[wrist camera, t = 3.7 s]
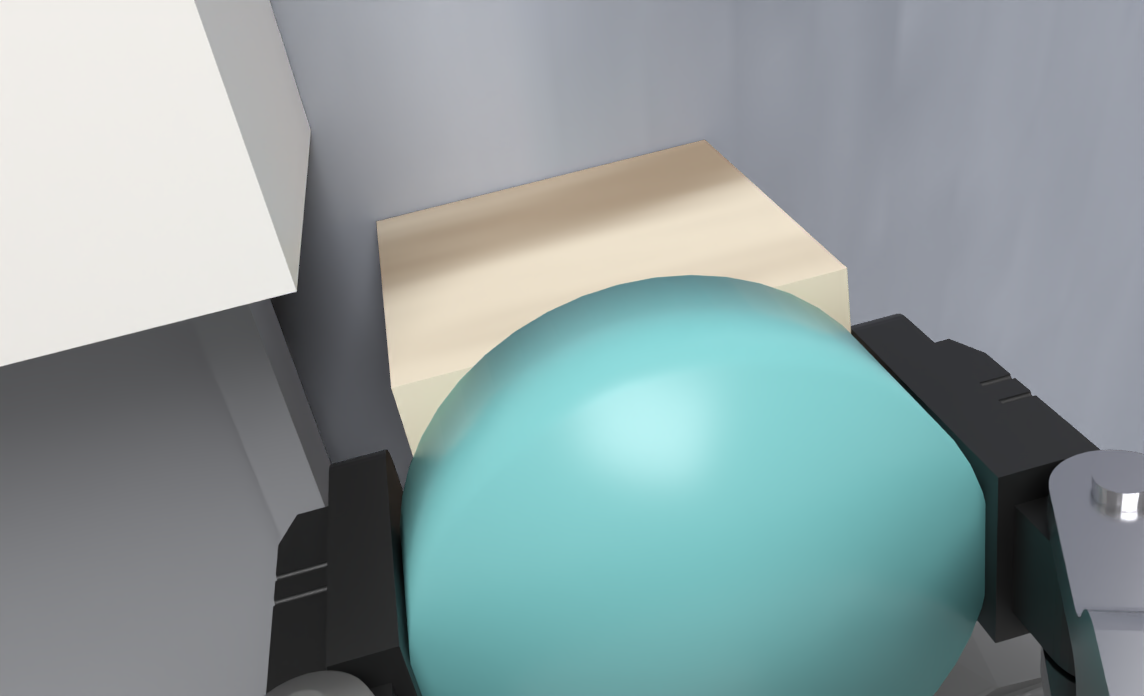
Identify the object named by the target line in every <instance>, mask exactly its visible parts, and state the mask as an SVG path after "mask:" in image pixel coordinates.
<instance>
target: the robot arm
mask: <svg viewBox="0 0 1144 696" xmlns="http://www.w3.org/2000/svg"><path fill="white" fill-rule="evenodd" d="M851 335H852V336H853V337H854V338H855V339H856V340H857V341H858V342H859V343H860V344H861V345H862V346H863V347H864V348H865V349H866V350H867V351H868V352H869V353H870V354H871V355H872V356H873V357H874V358H875V359H876V360H877V361H878V362H879V363H880V364H881V365H882V366H883V367H884V369H885V370H886V371H887V372H888V373H889V374H890V375H891V376H892V377H893V378H894V379H895V380H896V381H897V382H898V383H899V384H900V385H901V386H902V387H903V388H904V389H905V390H906V391H907V392H908V393H909V394H910V395H911V396H912V398H913V399H914V400H915V401H916V402H917V403H918V404H919V405H920V406H921V407H922V408H923V409H924V410H925V411H926V412H927V413H928V414H929V415H930V416H931V417H932V418H933V419H934V420H935V421H936V422H937V423H938V424H939V425H940V426H941V428H942V429H943V430H944V431H945V432H946V433H947V434H948V435H949V436H950V437H951V438H952V439H953V440H954V441H955V443H956V444H957V446H958V447H959V449H960V450H961V452H962V453H963V454H964V456H965V457H966V459H967V460H968V462H969V463H970V465H971V467H972V469H973V471H974V474H975V476H976V478H977V480H978V483H979V485H980V487H981V489H982V492H983V495H984V499H985V504H986V508H985V596H984V600H983V604H982V608H981V611H980V613H979V616H978V619H977V621H978V622H979V623H980V625H981V626H982V627H983V628H984V630H985V631H986V632H987V633H988V635H989V636H990V637H991V639H992V640H993V641H994V642H995V643H999V642H1002V641H1005V640H1009V639H1012V638H1015V637H1019V636H1022V635H1025V634H1029V633H1031V634H1032V636H1033V637H1034V638H1035V639H1036V640H1037V641H1038V643H1039V644H1040V645H1041V657H1040V675H1041V681H1042V687H1043V693H1044V696H1144V454H1142V453H1137V452H1132V451H1124V450H1100V449H1099V448H1098V447H1096V446H1095V445H1094V444H1093V443H1092V442H1090V441H1089V440H1088V439H1087V438H1086V437H1084V436H1083V435H1082V434H1081V433H1080V432H1079V431H1077V430H1076V429H1075V428H1074V427H1073V426H1071V425H1070V424H1069V423H1068V422H1067V421H1065V420H1064V419H1063V418H1062V417H1061V416H1060V415H1058V414H1057V413H1056V412H1055V411H1054V410H1052V409H1051V408H1050V407H1049V406H1048V405H1047V404H1045V403H1044V402H1043V401H1042V400H1041V399H1039V398H1038V397H1037V396H1032V395H1031V391H1030V390H1029V389H1028V388H1026V387H1025V386H1024V385H1023V384H1022V383H1020V382H1019V381H1018V380H1017V379H1016V378H1014V379H1012V378H1011V376H1010V373H1009V372H1007V371H1006V370H1005V369H1004V368H1003V367H1001V366H1000V365H999V364H998V363H997V362H995V361H994V360H993V359H992V358H991V357H990V356H988V355H987V354H986V353H984V352H981V351H979V350H976V349H974V348H971V347H968V346H966V345H963V344H961V343H958V342H955V341H953V340H950V339H947V340H943V341H939V342H936V343H934V342H933V341H932V340H931V339H930V338H929V337H927V336H926V335H925V334H924V333H923V332H922V331H921V330H920V329H919V328H917V327H916V326H915V325H914V324H913V323H912V322H911V321H910V320H908V319H907V318H906V317H905V316H904V315H901V314H894V315H891V316H887V317H883V318H879V319H876V320H872V321H868V322H865V323H861V324H857V325H853V326H851ZM402 495H403V490H402V487H401V484H400V481H399V478H398V475H397V472H396V469H395V466H394V463H393V460H392V458H391V455H390V453H389V451H388V450H383V451H379V452H375V453H371V454H368V455H364V456H360V457H356V458H353V459H349V460H345V461H342V462H338V463H334V464H331V465H330V466H329V492H328V506H327V507H323V508H319V509H316V510H312V511H308V512H305V513H301V514H297V515H296V517H295V519H294V520H293V522H292V524H291V525H290V527H289V528H288V530H287V532H286V533H285V535H284V537H283V538H282V540H281V541H280V543H279V545H278V553H277V566H276V578H277V581H275V590H274V602H275V606H273V614H272V626H271V638H270V650H269V663H268V675H267V687H266V695H264V696H422V694H421V691H420V689H419V686H418V683H417V680H416V678H415V675H414V672H413V669H412V667H411V664H410V653H409V640H408V627H407V614H406V602H405V589H404V576H403V563H402V550H401V537H400V516H401V503H402Z"/></svg>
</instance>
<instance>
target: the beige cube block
mask: <svg viewBox="0 0 1144 696" xmlns="http://www.w3.org/2000/svg"><path fill="white" fill-rule="evenodd" d="M376 223H377V234H378V245H379V256H380V267H381V278H382V290H383V301H384V312H385V323H386V334H387V346H388V357H389V368H390V379H391V389H392V392H393V395H394V398H395V401H396V404H397V407H398V411H399V414H400V417H401V420H402V423H403V426H404V429H405V433H406V436H407V439H408V442H409V445H410V448H411V451H412V454H413V457H414V454H415V452H416V449H417V447H418V444H419V442H420V439H421V437H422V435H423V433H424V432H425V430H426V428H427V427H428V425H429V423H430V421H431V420H432V418H433V416H434V414H435V413H436V411H437V409H438V408H439V406H440V405H441V404H442V402H443V401H444V400H445V399H446V397H447V396H448V395H449V393H450V392H451V391H452V390H453V388H454V387H455V386H456V384H457V383H458V382H459V381H460V379H461V378H462V377H463V376H464V375H465V374H466V373H467V372H468V371H469V370H470V369H471V368H472V367H473V366H474V365H475V364H476V363H477V362H478V361H479V360H480V359H481V358H482V357H483V356H484V355H485V354H487V353H488V352H489V351H491V350H492V349H493V348H494V347H496V346H497V345H498V344H500V343H501V342H502V341H503V340H505V339H506V338H507V337H509V336H510V335H511V334H512V333H514V332H515V331H517V330H518V329H520V328H522V327H523V326H525V325H527V324H528V323H530V322H532V321H533V320H535V319H536V318H538V317H540V316H541V315H543V314H545V313H546V312H548V311H551V310H553V309H555V308H557V307H559V306H561V305H564V304H566V303H568V302H570V301H572V300H575V299H577V298H579V297H581V296H584V295H587V294H590V293H593V292H597V291H600V290H603V289H606V288H609V287H612V286H615V285H619V284H624V283H629V282H634V281H639V280H644V279H649V278H655V277H668V276H683V275H702V276H720V277H730V278H735V279H741V280H746V281H751V282H756V283H761V284H764V285H767V286H770V287H773V288H776V289H778V290H781V291H784V292H787V293H790V294H792V295H794V296H796V297H798V298H800V299H802V300H804V301H806V302H808V303H810V304H812V305H814V306H816V307H818V308H819V309H821V310H822V311H823V312H825V313H826V314H828V315H829V316H830V317H832V318H833V319H834V320H836V321H837V322H838V323H840V324H841V325H843V326H844V327H845V328H846V329H847V330H848V331H849V333H850V334H851V325H850V309H849V293H848V277H847V268H846V267H845V266H844V265H843V264H842V263H841V262H839V261H838V260H837V259H836V258H835V257H834V256H833V255H832V254H831V253H829V252H828V251H827V250H826V249H825V248H824V247H823V246H822V245H821V244H820V243H818V242H817V241H816V240H815V239H814V238H813V237H812V236H811V235H810V234H808V233H807V232H806V231H805V230H804V229H803V228H802V227H801V226H800V225H799V224H797V223H796V222H795V221H794V220H793V219H792V218H791V217H790V216H789V215H787V214H786V213H785V212H784V211H783V210H782V209H781V208H780V207H779V206H778V205H776V204H775V203H774V202H773V201H772V200H771V199H770V198H769V197H768V196H766V195H765V194H764V193H763V192H762V191H761V190H760V189H759V188H758V187H757V186H755V185H754V184H753V183H752V182H751V181H750V180H749V179H748V178H747V177H745V176H744V175H743V174H742V173H741V172H740V171H739V170H738V169H737V168H735V167H734V166H733V165H732V164H731V163H730V162H729V161H728V160H727V159H726V158H724V157H723V156H722V155H721V154H720V153H719V152H718V151H717V150H716V149H714V148H713V147H712V146H711V145H710V144H709V143H708V142H707V141H706V140H702V141H698V142H694V143H690V144H686V145H682V146H678V147H674V148H670V149H665V150H661V151H657V152H653V153H649V154H645V155H641V156H637V157H633V158H629V159H625V160H621V161H617V162H613V163H609V164H605V165H601V166H597V167H593V168H589V169H585V170H581V171H577V172H573V173H569V174H565V175H561V176H557V177H553V178H549V179H545V180H541V181H537V182H533V183H529V184H525V185H521V186H517V187H513V188H509V189H505V190H501V191H497V192H493V193H489V194H485V195H481V196H477V197H473V198H469V199H465V200H461V201H457V202H453V203H449V204H445V205H441V206H436V207H432V208H428V209H424V210H420V211H416V212H412V213H408V214H404V215H400V216H396V217H392V218H388V219H384V220H380V221H376Z"/></svg>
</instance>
